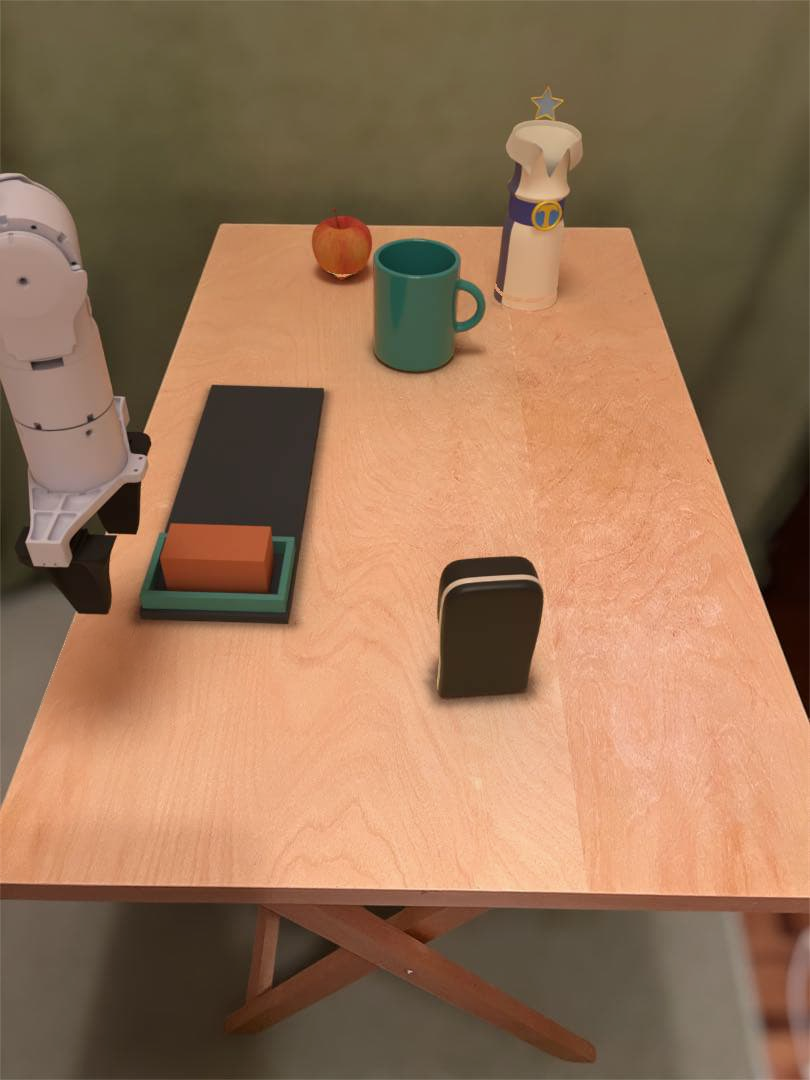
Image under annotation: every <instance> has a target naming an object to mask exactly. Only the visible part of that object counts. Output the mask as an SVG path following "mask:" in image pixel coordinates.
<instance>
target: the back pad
mask: <svg viewBox="0 0 810 1080" xmlns="http://www.w3.org/2000/svg"><path fill="white" fill-rule="evenodd" d="M324 396H325V389H324V387H303V386H301V387H300V386H298V387H297V386H268V385H265V386H264V385H238V384H235V385H234V384H211V386H210V389H209V392H208V396H207V398H206V401H205V405H204V408H203V411H202V414H201V417H200V420H199V423H198V425H197V426H198V427H197V430H196V433H195V436H194V439H193V442H192V445H191V448H190V451H189V455H188V458H187V461H186V463H185V467H184V471H183V473H182V476H181V479H180V483H179V485H178V489H177V492H176V495H175V498H174V501H173V505H172V507H171V508H172V509H171V510H170V514H169V517H168V520H167V523H166V527H165V530H164V532H159V534H158V536H157V540H156V543H155V546H154V548H153V552H152V555H151V558H150V561H149V565H148V567H147V571H146V574H145V576H144V579H143V583H142V586H141V589H140V592H139V600H140V607H139V611H138V615H139V618H140V620H157V621H159V620H160V621H187V622H189V621H194V622H222V623H225V622H226V623H252V624H253V623H254V624H256V623H257V624H282V625H283V624H287V625H288V624H289V622H290V614H291V607H292V601H293V595H294V589H295V583H296V582H295V581H296V575H297V570H298V563H299V556H300V550H301V543H302V538H303V532H304V524H305V518H306V512H307V506H308V500H309V492H310V486H311V480H312V475H313V473H312V472H313V466H314V461H315V460H314V459H315V454H316V448H317V441H318V435H319V427H320V422H321V416H322V410H323V409H322V408H323V403H324ZM171 523H173V524H205V525H237V526H269V527H271V532H272V541H273V551H274V560H275V563H274V569H273V574H272V580H271V585H270V591H269V594H245V593H213V592H181V591H167V587H166V582H165V578H164V573H163V569H162V564H161V560H160V556H161V553H162V550H163V547H164V544H165V541H166V538H167V534H168V531H169V528H170V525H171Z"/></svg>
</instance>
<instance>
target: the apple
mask: <svg viewBox="0 0 810 1080" xmlns="http://www.w3.org/2000/svg"><path fill="white" fill-rule="evenodd" d="M332 210H333V212H334V216H335V217H331V218H328V219H325V220H323V221H321V222H320V223H318V224H317V225H316V226H315V227H314V229H313V232H312V236H311V247H312V252H313V255H314V258H315V260H316V262H317V263H318V265H319V266H320V268H321V267H322V268H323V269H325V270H326V271H329V272H331V273H335V274H342V275H343V274H353V273H356V272H358V271H360V270H361V271H363V269H364V268H365V267H366V265H367V263H368V261H369V259H370V257H371V253H372V248H373V238H372V233H371V230H370V229H369V227H368V225H367V224H365V223H364V222H363V221H361V220H360V219H358V218H355V217H353V216H350V215H349V216H348V215H339V216H337V208H336V207H332ZM322 268H321V269H322ZM323 269H322V270H323ZM326 271H325V272H326ZM361 271H360V272H361ZM358 273H359V272H358ZM356 274H357V273H356ZM332 276H333V277H335V278H337V279H338V280H339V281H344V280H346V278H349V277H350V276H346V277H337V276H334V275H332Z"/></svg>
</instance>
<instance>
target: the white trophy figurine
mask: <svg viewBox="0 0 810 1080" xmlns="http://www.w3.org/2000/svg"><path fill="white" fill-rule="evenodd" d="M530 100H531V102H532V103H534V105H536V107H537V110H536V112H535V113H536V114H535V117H534V119H533V120H532V119H531V120H525V121H522V122H520V123H517V124H516V125H515V126H514V127H513V129H512V132H511V134H510V135H509V137H508V139H507V142H506V143H505V151H506V154H508V156H509V157H510V158H511V160H513V161H515V167H514V171H513V174H512V177H511V178H510V179H509V181H508V182H507V189H508V191H509V202H508V211H507V214H506V216H505V218H504V220H503V224H502V225H503V226H502V230H501V231H502V233H501V238H500V239H501V240H500V249H499V255H498V257H499V258H498V264H497V272H496V278H495V283H496V284H497V287H498V288H499V289H500V291H502V292H504V293H506V294H507V295H511V296H514V297H518V298H527V299H531V298H534V299H537V298H543V297H546V296H548V295H551V294H552V293H554V292H555V291H556V289H557V287H558V288H559V277H560V269H561V260H562V251H563V244H564V237H565V221H564V212H565V205H566V197H567V196H568V195H569V194H570V191H571V187H570V185H569V183H568V177H567V176H568V175H567V174H568V171H569V172H571V171H572V170H573V169H574V168H575V167H576V166H578V164H580V162H581V160H582V158H583V155H584V149H583V140H582V139H583V138H582V137H583V135H582V133H581V131H579V130H578V128H576V127H575V126H574V125H572V124H569V123H566V122H562V121H558V120H556V117H555V109H556V108H557V107H559V106H560V105H561V104H562V103H563V102H564V101H565V100H564V99H561V98H556V97H554V96H553V95H552V91H551V88H550V85H548V86H547V88H546V89H545V91H544V92H543V93H542V95H541V96H533V97H530ZM544 117H546V118H548V119H542V118H544ZM549 119H550V120H549ZM568 167H569V169H568ZM493 296H494V299H495V301H497V303H499V304H501V305H502V306H504V307H506V308H509V309H511V310H516V311H520V312H521V311H522V312H538V311H542V310H543V311H544V310H547V309H549V308H551V307H553V306H554V305H555V304H556V302H557V299H558V293H557V294H556V296H555V297H553V298H552V299H550V300H548V301H545V302H541V303H520V302H515V301H512V300H509V299H506V298H504V297H503V296H501V295H500V294H499V293H498V292H497V291H496V289H495V288H494V289H493Z"/></svg>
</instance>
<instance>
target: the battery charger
mask: <svg viewBox="0 0 810 1080" xmlns="http://www.w3.org/2000/svg"><path fill="white" fill-rule="evenodd" d="M538 575H539V574H538V572H537V570H536V567H535V566H534V564H533V562H532V561H530V560H529V559H528V558H527V557H523V556H519V555H507V556H506V555H505V556H485V557H484V556H483V557H471V558H462V559H457V560H453V561H451V562H450V563H448V564H447V565H445V567H444V568H443V570H442V572H441V575H440V578H439V583H438V592H437V603H436V604H437V605H436V618H437V623H438V658H437V670H436V690H437V691H438V693H439V695H440V697H459V696H460V697H461V696H478V695H491V694H501V693H503V694H505V693H514V692H523V691H526V690H527V689H528V684H529V676H530V672H531V671H530V670H531V665H532V661H533V657H534V653H535V649H536V646H537V642H538V637H539V633H540V629H541V624H542V618H543V613H544V612H543V611H544V602H545V600H544V599H545V591H544V590H545V589H544V587H543V584H542V582H541V580H540V578H539V576H538Z"/></svg>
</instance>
